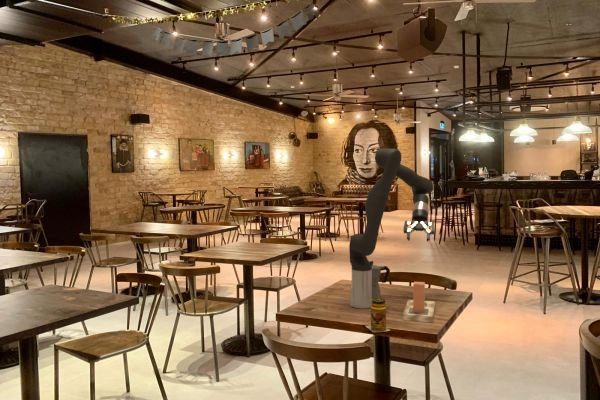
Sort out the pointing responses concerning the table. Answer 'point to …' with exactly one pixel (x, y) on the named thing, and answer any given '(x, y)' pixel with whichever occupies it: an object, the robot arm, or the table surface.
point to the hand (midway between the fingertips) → (418, 240)
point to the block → (418, 296)
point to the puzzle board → (419, 316)
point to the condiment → (378, 316)
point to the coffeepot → (377, 279)
